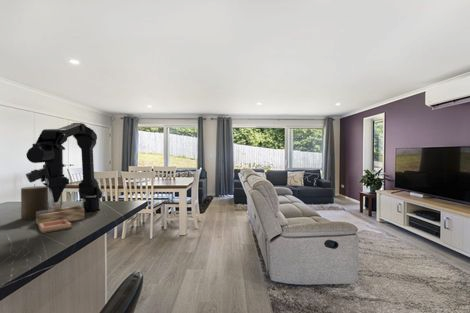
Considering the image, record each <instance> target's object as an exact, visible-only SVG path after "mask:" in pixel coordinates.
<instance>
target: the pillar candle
mask: <svg viewBox="0 0 470 313" xmlns="http://www.w3.org/2000/svg"><path fill="white" fill-rule="evenodd" d="M20 200H21V201H20V203H21V204H20V205H21V206H20V207H21V208H20V209H21V210H20V212H21V214H20V216H21V220H27V221H28V220H29V221H30V220H31V221H32V220H36V211H42V210H48V187H47V186H45V185H39V186H38V185H36V184H34V186H25V187H24V186H23V187H21V188H20Z"/></svg>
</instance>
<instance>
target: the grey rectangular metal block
mask: <svg viewBox="0 0 470 313" xmlns="http://www.w3.org/2000/svg"><path fill="white" fill-rule="evenodd" d="M48 213H55V210H42V211H36V218H37V219H38V218H39V215H41V214H48Z"/></svg>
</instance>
